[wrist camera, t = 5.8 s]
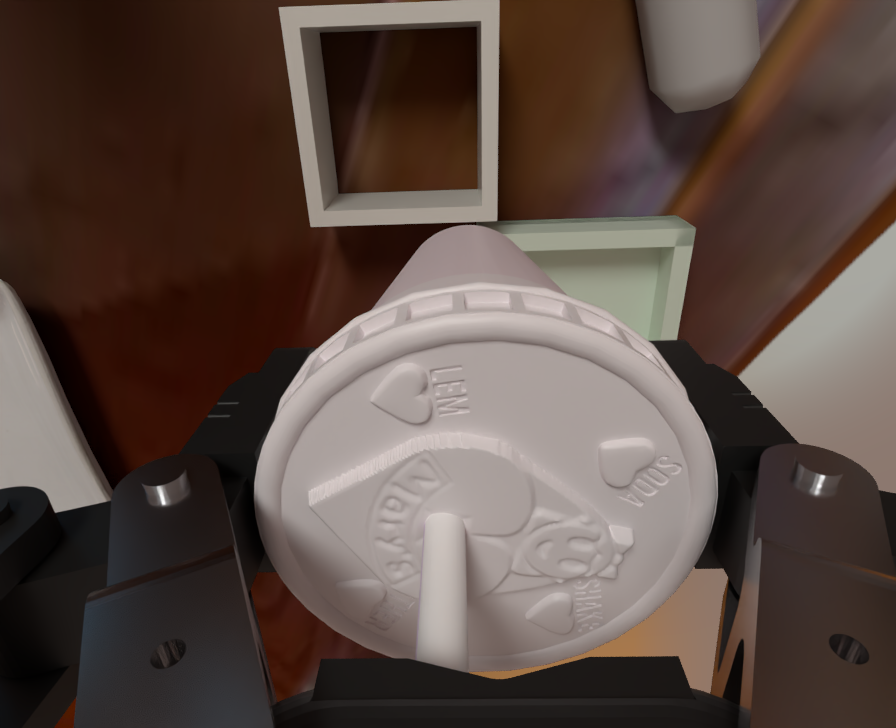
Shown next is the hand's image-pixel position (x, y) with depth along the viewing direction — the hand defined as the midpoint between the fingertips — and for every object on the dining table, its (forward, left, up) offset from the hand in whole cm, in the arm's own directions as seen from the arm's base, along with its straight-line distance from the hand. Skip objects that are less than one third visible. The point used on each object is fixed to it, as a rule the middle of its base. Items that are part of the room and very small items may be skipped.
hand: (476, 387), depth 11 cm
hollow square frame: (-3, +3, -24) cm, 25 cm away
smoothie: (0, 0, -6) cm, 6 cm away
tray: (+7, -8, -24) cm, 27 cm away
